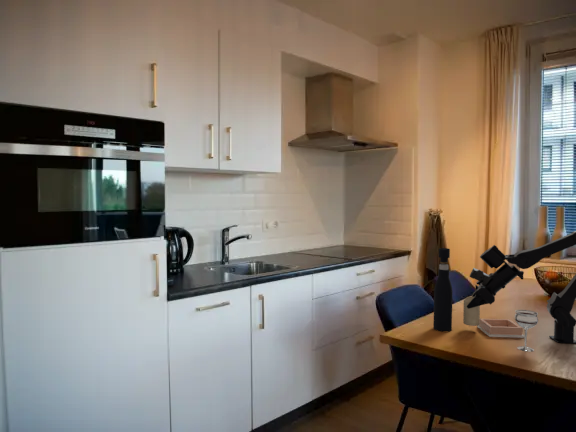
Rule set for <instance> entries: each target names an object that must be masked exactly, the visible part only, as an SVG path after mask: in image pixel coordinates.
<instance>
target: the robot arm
mask: <svg viewBox="0 0 576 432" xmlns="http://www.w3.org/2000/svg"><path fill="white" fill-rule="evenodd" d="M575 246H576V230H574V231H572V232H571V233H569V234H566V235H564V236H562V237H560V238H556V239H554V240H552V241H549V242H547V243H545V244H542V245H540V246H537V247H533V248H527V249H524V250H523V249H522V250H519V251H516V252H515V253H513V254H504V253H503V252H502V251H501V249H499V247H497V245H495V244H494V245H492V246H491V247H489V248H488V249H486V250H485V251H484V252H482V254H480V256H479V259H481V260H482V261H483V262H484V263H485V264H486V265H487V266H488V267H489V268H490V269H493V268H494V269H495V271H494V272H491V273H489V274H487V273H485V272H484V271H483V270H481V269H478V268H475V267H473V268H472V270H471V271H470V273H469V278H470V279H473V280H476V282H475V283H476V284H475V289H474V290H475V291H474V292H473V293H472V294H471V296H473V297H474V298H473V299H472V300H471V301H470V303H469V304H468V305H467V308H468V309H470V308H473V307H477V306H480V307H481V306H484V305H492V304H493V303H495V300H496V297H495V296H497V293H499V292H500V291H501V290H503V289H505V288H506V286H507V285H509V283H510V282H512V281H513V280H514V279H515V278H517V277H519V279H520V280H524V273H525V271H524V270H527V269H530V268H532V267H534V266H535V265H536V264H538V263H539V262H540V261H542V260H543V259H545V258H547V257H550V256H552V255H555V254H556V253H559V252H561V251H564V250H566V249H569V248H572V247H575ZM510 264H511V265H510ZM518 268H519V269H518ZM520 269H522V270H520ZM575 301H576V273H575V275H574V276H573V277H572V278H571V280H570V281H569V283H568V284H567V285H566V286H565V288H563V290H562V291H560V292H559V293H558V294H557V293H556V292H555V291H554V292H553V293H552V295H551V297H550V298H549V299H548V300H546V302H547V304H546V309H547V312H548V313H549V315H550V316H551V317H552V318H553V319H554V321H553V322H554V324H553V325H554V326H553V335H549V338H550V339H552V340H553V341H554V342H556V343H559V344H576V340H575V339H574V337H575V336H574V335H575V327H576V318H575V317H574V316H573V315H572V314H571V312H572V310H573V307H574V305H575V304H574V303H575Z"/></svg>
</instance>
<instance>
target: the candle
mask: <svg viewBox="0 0 576 432" xmlns="http://www.w3.org/2000/svg"><path fill="white" fill-rule="evenodd" d="M473 298H474V297H473V296H472V295H471V296H467V297H466V298H465V299H463V319H462V320H463V324H464V325H466V326H471V327H477V326H478V325H479V324H480V319H481V318H480V314H481V312H480V311H481V305H480V306H477V307H473V308H470V309H468V308H467V305H468V304H469V303H470V301H471V300H472V299H473Z"/></svg>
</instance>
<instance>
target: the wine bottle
mask: <svg viewBox="0 0 576 432" xmlns="http://www.w3.org/2000/svg"><path fill="white" fill-rule="evenodd" d="M450 253H451V249H450V248H448V247H445V248H444V247H441V248H438V258H440V261H439V265H438V266H439V267H438V273H437V274H438V275H437V279H436V281H435V285H434V289H433V329H434V330H435V331H437V330H438V332H443V331H448V332H451V331H452V329H453V328H452V326H453V295H454V294H453V286H452V282H451V279H450V269H449V264H448V261H449V260H448V259H450V256H451V255H450Z"/></svg>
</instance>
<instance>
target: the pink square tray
mask: <svg viewBox="0 0 576 432" xmlns="http://www.w3.org/2000/svg"><path fill="white" fill-rule="evenodd" d="M476 327H477V328H478V329H479V330H480V331H482V332H483V333H484V334H485V335H487V336H488V337H491V338H519V339H520V338H521V339H525V334H524V333H523V331H524V329H523V327H521V326H519V325H518V324H517V323H516V322H514V321H513V320H511V319H509V318H507V319H505V318H504V319H503V318H480V324H479V325H478V326H476Z"/></svg>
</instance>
